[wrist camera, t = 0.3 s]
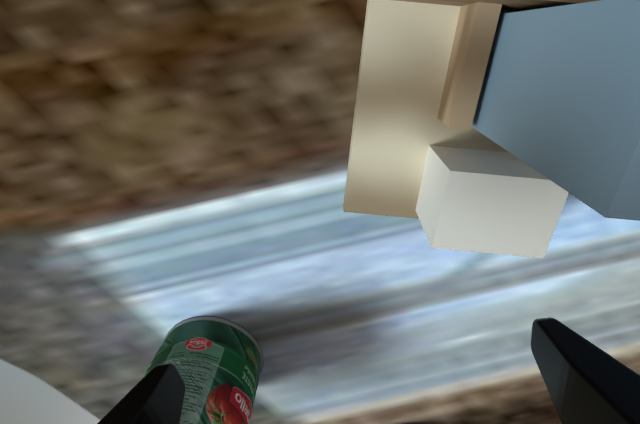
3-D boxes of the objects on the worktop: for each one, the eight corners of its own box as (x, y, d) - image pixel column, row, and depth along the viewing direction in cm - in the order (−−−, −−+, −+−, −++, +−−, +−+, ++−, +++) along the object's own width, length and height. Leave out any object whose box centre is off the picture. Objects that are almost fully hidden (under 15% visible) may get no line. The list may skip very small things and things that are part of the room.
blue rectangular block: (509, 124, 20) (705, 226, 9) (462, 120, 20) (605, 217, 9) (539, 20, 18) (837, -3, 7) (487, 15, 18) (708, -15, 7)
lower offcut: (507, 219, 23) (523, 236, 21) (415, 210, 23) (422, 227, 21) (528, 154, 21) (548, 166, 19) (429, 145, 21) (438, 156, 19)
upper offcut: (523, 236, 21) (543, 258, 19) (422, 227, 21) (431, 247, 19) (548, 166, 19) (573, 182, 17) (438, 156, 19) (450, 170, 17)
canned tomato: (143, 334, 29) (42, 490, 19) (230, 302, 27) (169, 453, 18) (199, 401, 32) (136, 566, 22) (281, 375, 30) (253, 541, 20)
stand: (499, 219, 24) (547, 273, 18) (343, 204, 24) (345, 254, 18) (568, -2, 19) (663, -17, 13) (369, -19, 19) (382, -41, 13)
